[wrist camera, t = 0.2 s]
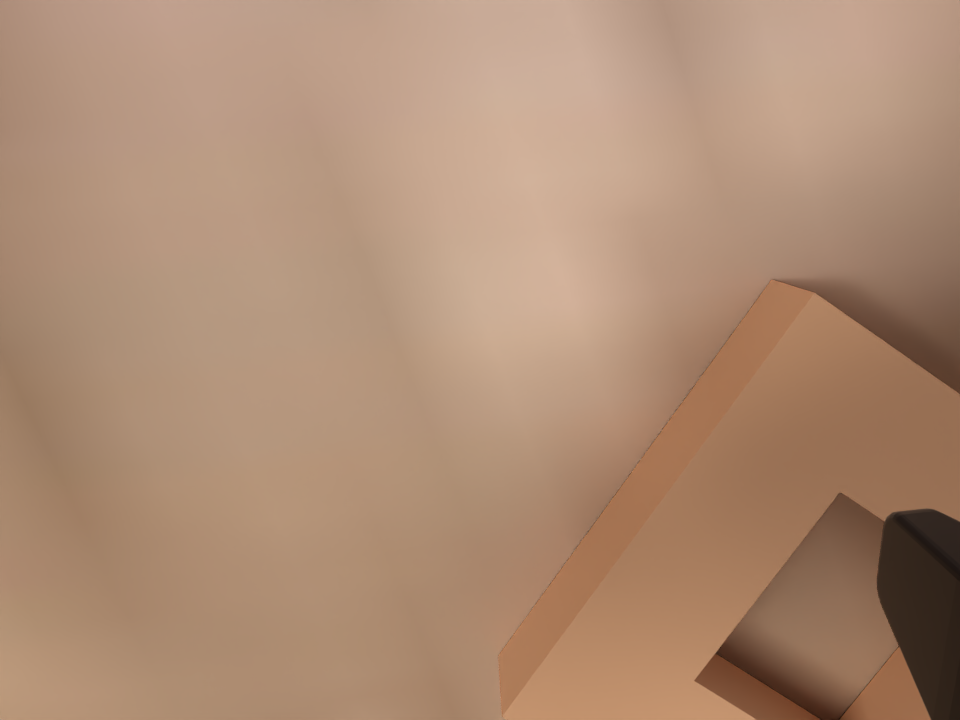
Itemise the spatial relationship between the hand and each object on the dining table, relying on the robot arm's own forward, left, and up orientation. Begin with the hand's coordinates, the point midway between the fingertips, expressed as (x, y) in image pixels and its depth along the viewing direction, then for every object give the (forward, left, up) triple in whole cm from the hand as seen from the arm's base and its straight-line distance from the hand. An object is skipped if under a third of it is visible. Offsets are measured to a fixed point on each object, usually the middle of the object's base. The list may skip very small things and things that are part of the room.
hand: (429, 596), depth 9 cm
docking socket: (-1, -13, -15) cm, 20 cm away
